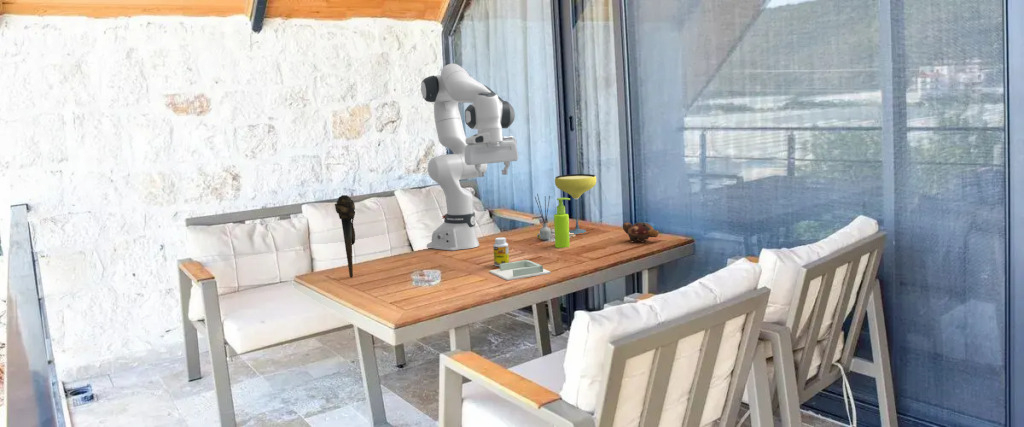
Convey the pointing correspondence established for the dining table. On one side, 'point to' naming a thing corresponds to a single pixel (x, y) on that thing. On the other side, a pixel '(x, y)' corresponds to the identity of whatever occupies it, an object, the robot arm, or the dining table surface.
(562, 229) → the soap dispenser
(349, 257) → the decorative torch
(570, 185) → the cocktail glass
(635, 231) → the decorative turtle
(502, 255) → the supplement bottle
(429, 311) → the dining table surface
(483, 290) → the dining table surface
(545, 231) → the reed diffuser
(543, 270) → the u rest
